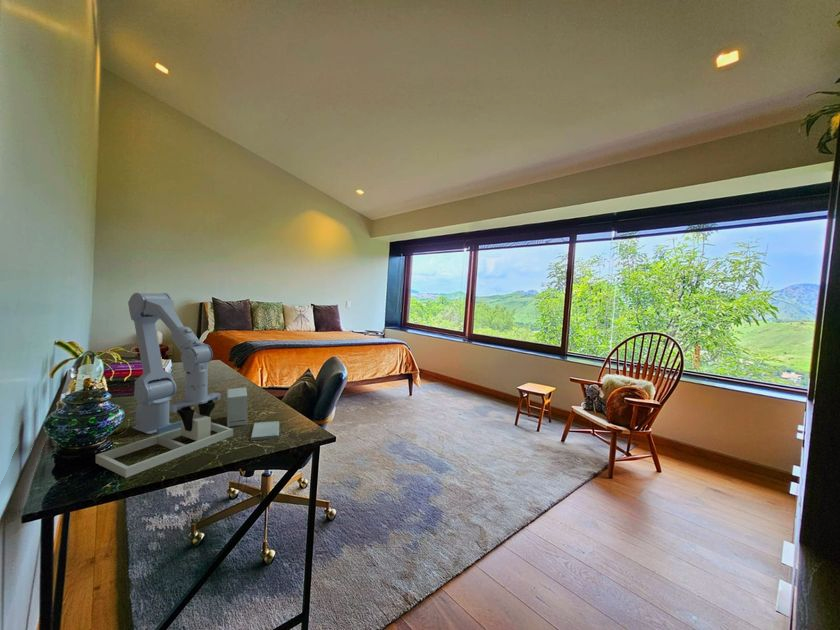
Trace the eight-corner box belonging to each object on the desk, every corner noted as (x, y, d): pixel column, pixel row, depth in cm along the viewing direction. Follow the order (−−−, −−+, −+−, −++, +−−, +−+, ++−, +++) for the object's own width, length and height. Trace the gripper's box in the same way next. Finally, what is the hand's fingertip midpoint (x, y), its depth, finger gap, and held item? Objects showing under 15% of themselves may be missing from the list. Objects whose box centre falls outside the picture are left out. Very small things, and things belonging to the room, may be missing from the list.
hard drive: (278, 435, 111) (279, 420, 122) (250, 437, 108) (253, 422, 119) (278, 440, 111) (279, 425, 123) (250, 442, 108) (253, 427, 119)
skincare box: (226, 416, 126) (227, 388, 125) (246, 414, 129) (246, 387, 128) (226, 427, 117) (226, 396, 116) (247, 424, 120) (248, 395, 119)
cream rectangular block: (180, 435, 106) (181, 416, 106) (193, 430, 110) (194, 412, 110) (197, 441, 103) (197, 421, 103) (210, 436, 107) (210, 417, 106)
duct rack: (93, 461, 90) (93, 447, 90) (202, 425, 117) (202, 414, 116) (125, 477, 84) (125, 462, 84) (233, 435, 111) (233, 423, 110)
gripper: (180, 392, 97) (179, 439, 98) (227, 381, 110) (226, 422, 111) (164, 388, 100) (164, 433, 101) (212, 378, 113) (211, 418, 114)
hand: (195, 427), depth 106 cm, fingers closed on cream rectangular block, 4 cm apart
